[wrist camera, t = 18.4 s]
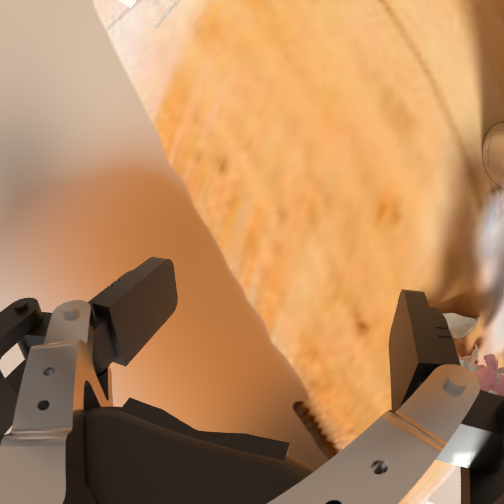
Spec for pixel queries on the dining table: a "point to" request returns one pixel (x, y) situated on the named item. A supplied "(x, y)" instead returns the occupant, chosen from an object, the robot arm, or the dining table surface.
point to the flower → (489, 376)
